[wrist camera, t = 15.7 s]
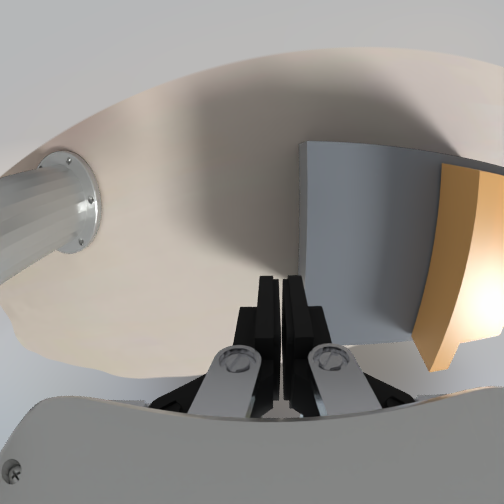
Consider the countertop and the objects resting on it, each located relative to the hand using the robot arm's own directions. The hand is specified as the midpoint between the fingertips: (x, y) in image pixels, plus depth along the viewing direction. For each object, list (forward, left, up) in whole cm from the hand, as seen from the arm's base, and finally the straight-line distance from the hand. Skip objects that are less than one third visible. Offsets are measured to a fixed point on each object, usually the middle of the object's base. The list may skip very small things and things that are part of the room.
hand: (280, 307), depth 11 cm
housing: (+10, 0, -15) cm, 18 cm away
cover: (+14, 0, -5) cm, 15 cm away
